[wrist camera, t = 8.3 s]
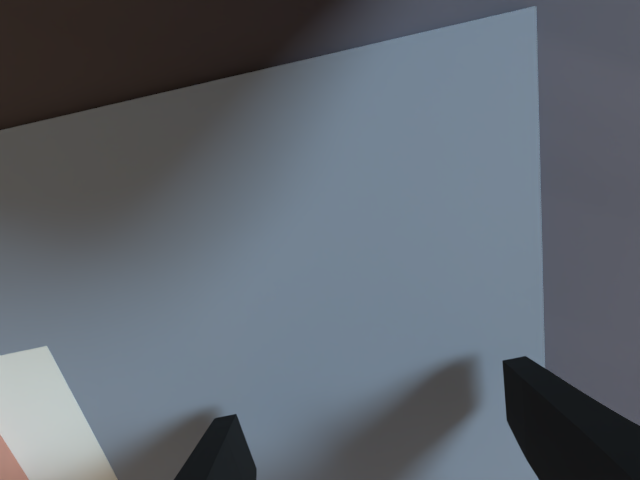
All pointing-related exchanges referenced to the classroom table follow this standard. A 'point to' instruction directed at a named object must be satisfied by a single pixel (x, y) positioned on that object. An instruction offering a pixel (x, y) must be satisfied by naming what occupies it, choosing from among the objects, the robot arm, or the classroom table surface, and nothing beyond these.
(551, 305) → the classroom table surface
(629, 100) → the classroom table surface
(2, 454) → the t block
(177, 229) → the t board
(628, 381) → the classroom table surface
